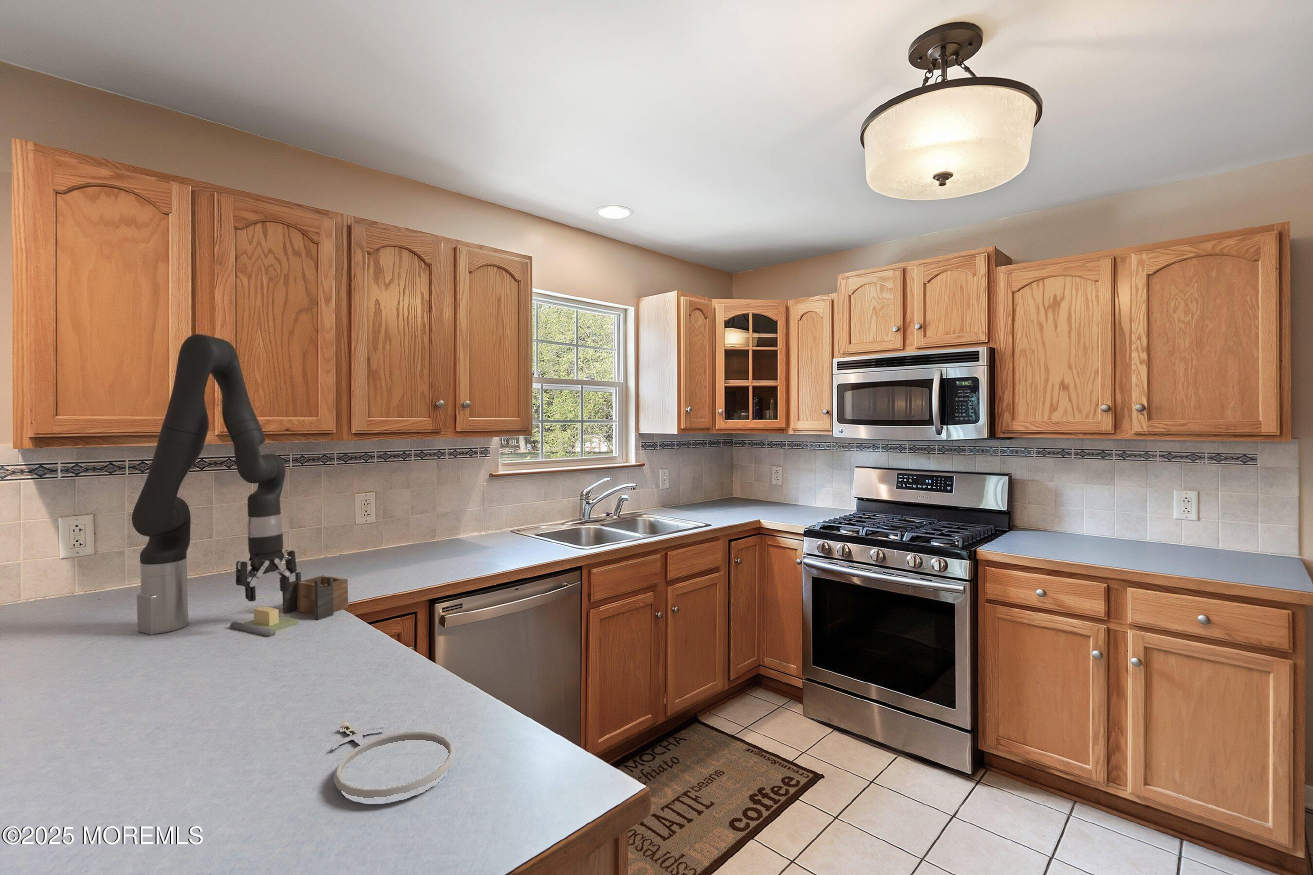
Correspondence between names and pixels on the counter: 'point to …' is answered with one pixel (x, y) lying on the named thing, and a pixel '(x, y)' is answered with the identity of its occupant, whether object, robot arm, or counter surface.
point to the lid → (265, 622)
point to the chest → (316, 595)
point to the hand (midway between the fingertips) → (268, 596)
